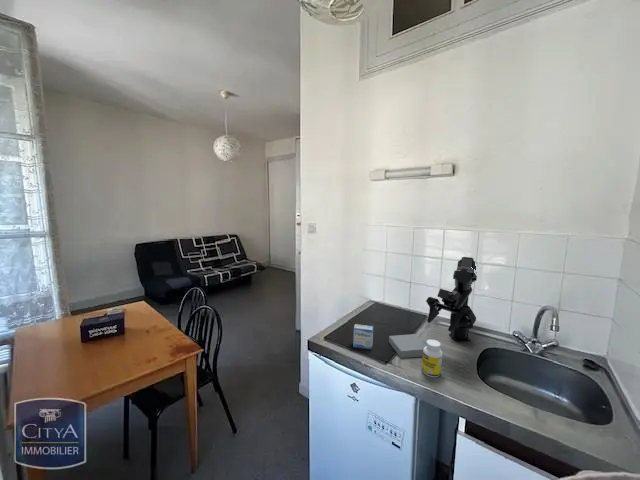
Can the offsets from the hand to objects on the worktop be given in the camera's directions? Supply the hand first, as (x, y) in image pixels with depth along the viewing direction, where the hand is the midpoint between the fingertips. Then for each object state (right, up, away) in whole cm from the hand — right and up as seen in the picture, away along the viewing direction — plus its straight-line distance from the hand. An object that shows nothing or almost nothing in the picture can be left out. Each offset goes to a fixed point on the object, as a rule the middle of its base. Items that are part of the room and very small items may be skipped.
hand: (438, 326), depth 105 cm
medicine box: (-26, -13, +13) cm, 32 cm away
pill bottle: (-4, -16, -4) cm, 17 cm away
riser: (-8, -13, +11) cm, 19 cm away
